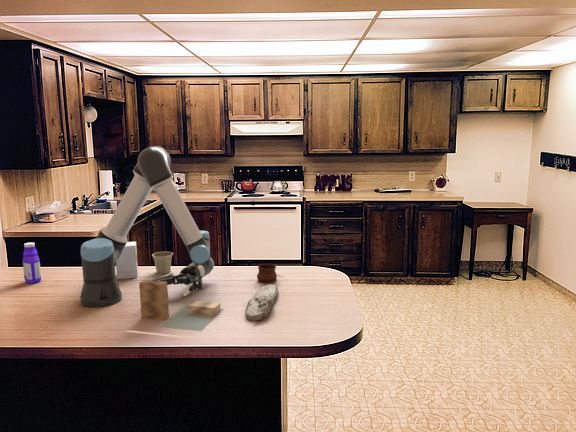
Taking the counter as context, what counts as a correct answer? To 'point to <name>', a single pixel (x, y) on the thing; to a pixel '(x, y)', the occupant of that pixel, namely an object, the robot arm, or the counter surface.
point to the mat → (188, 320)
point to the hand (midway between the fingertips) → (167, 291)
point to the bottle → (31, 264)
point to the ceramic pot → (267, 273)
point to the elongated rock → (261, 303)
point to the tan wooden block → (204, 308)
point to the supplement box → (127, 262)
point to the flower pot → (162, 261)
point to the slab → (154, 299)
